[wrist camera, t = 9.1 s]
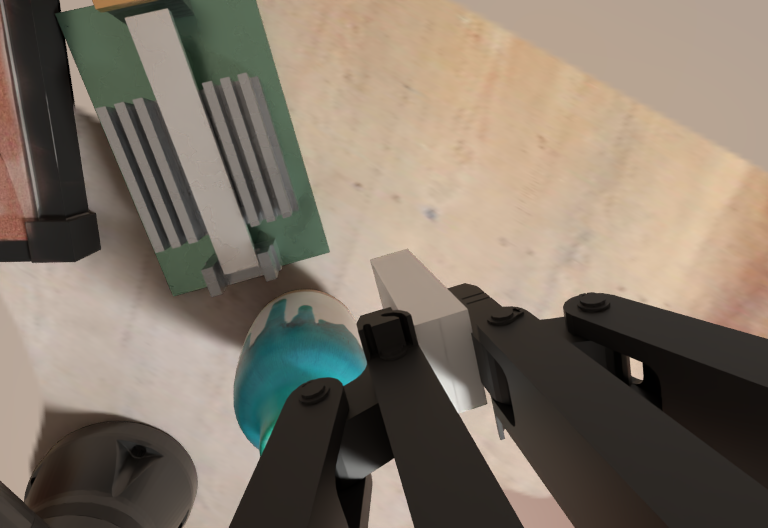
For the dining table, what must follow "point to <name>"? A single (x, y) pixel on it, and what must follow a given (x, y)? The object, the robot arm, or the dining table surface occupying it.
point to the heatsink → (230, 125)
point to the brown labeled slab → (39, 142)
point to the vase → (292, 356)
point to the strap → (193, 137)
